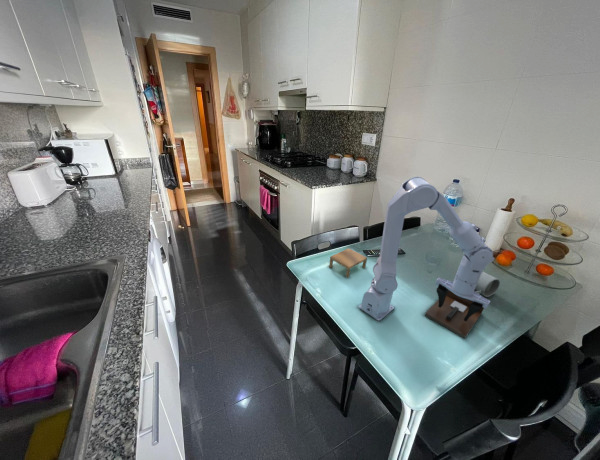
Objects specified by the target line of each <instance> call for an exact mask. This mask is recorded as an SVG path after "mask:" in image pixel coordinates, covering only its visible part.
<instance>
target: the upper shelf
mask: <svg viewBox="0 0 600 460" xmlns="http://www.w3.org/2000/svg"><path fill="white" fill-rule="evenodd" d="M367 261H368V257H367V256H365V255H363V254H361V253H359V252H357V251H356V250H353V249H351V248H349V247H348V248H346V249H343V250H342V251H339V252H338V253H335V254H333V255H330V257H329V264H328V267H329V268H333V265H334V262H335V263H337V264H338V265H341V266H342V267H343V268H345V269H346V273H345V278H346V279H347V278H348V279H349V278H350V274H351V269H352V268H355V267H356V266H358V265H360V264H362V266H361V267H362V269H366V266H367Z"/></svg>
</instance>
